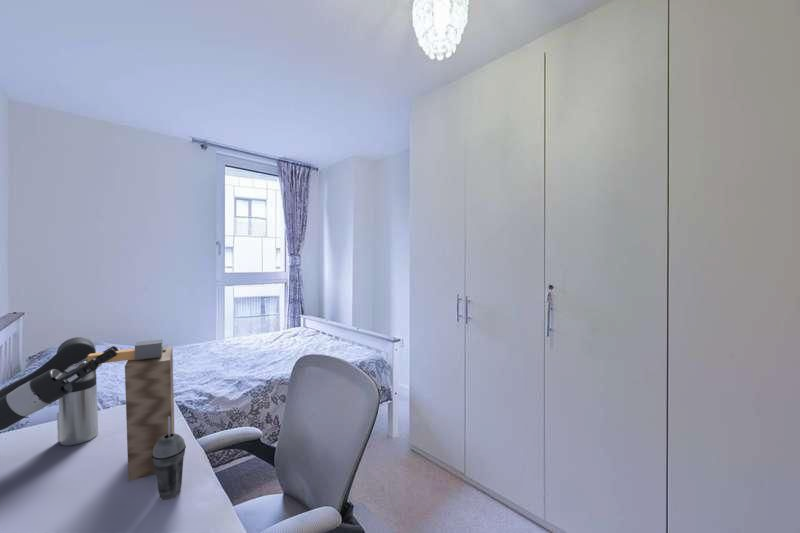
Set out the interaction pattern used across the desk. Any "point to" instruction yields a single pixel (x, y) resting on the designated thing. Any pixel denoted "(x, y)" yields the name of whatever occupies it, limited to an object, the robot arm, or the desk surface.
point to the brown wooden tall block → (148, 409)
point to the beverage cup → (169, 464)
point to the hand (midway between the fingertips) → (115, 350)
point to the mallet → (136, 352)
